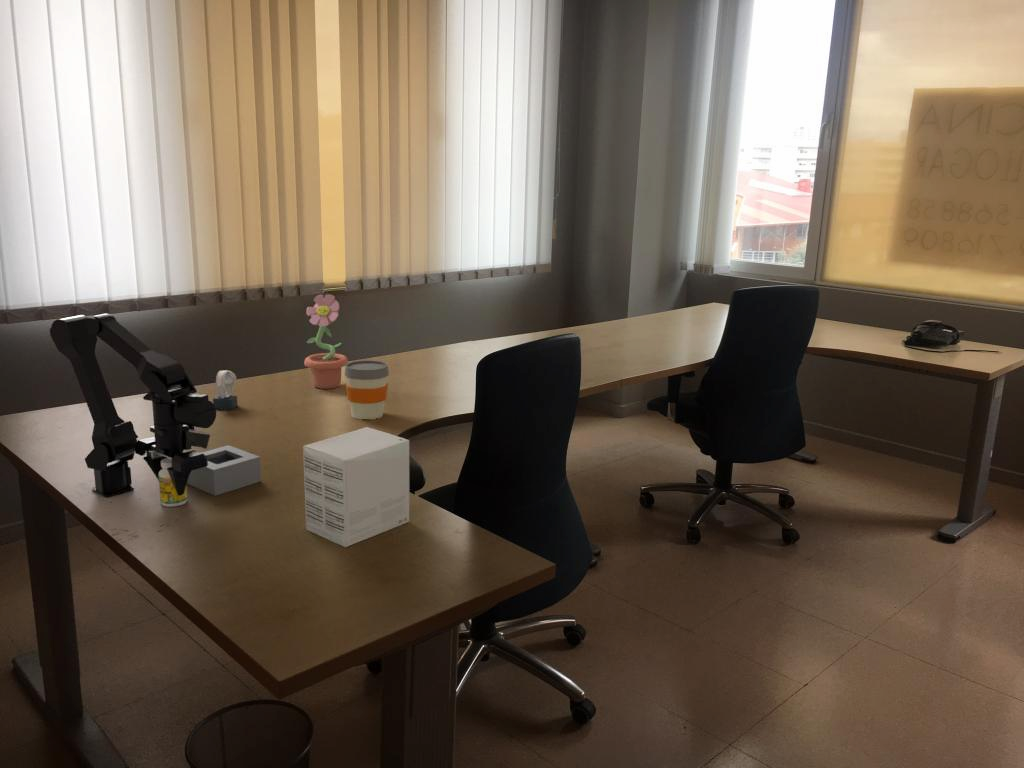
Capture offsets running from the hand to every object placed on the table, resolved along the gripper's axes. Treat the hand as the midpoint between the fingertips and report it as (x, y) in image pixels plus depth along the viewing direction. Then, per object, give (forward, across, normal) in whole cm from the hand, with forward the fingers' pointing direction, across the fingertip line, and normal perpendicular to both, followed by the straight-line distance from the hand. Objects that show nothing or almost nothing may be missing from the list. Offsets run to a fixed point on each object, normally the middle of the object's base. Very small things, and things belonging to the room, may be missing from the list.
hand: (173, 491), depth 187 cm
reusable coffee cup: (+3, +19, -73) cm, 76 cm away
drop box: (+2, +3, -14) cm, 15 cm away
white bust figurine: (+3, +55, -50) cm, 74 cm away
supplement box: (+3, -38, -18) cm, 42 cm away
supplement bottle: (+3, 0, 0) cm, 3 cm away
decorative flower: (+3, +53, -86) cm, 101 cm away
